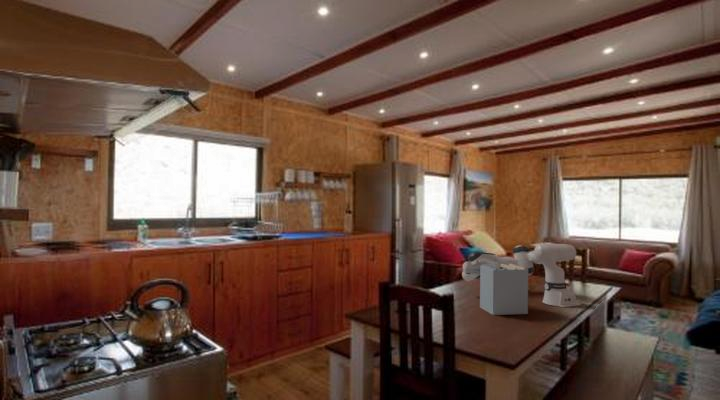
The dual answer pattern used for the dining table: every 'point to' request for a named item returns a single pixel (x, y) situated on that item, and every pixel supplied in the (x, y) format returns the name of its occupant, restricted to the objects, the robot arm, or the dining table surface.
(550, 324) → the dining table surface
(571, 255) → the robot arm
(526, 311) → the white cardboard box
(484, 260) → the gauge bar
